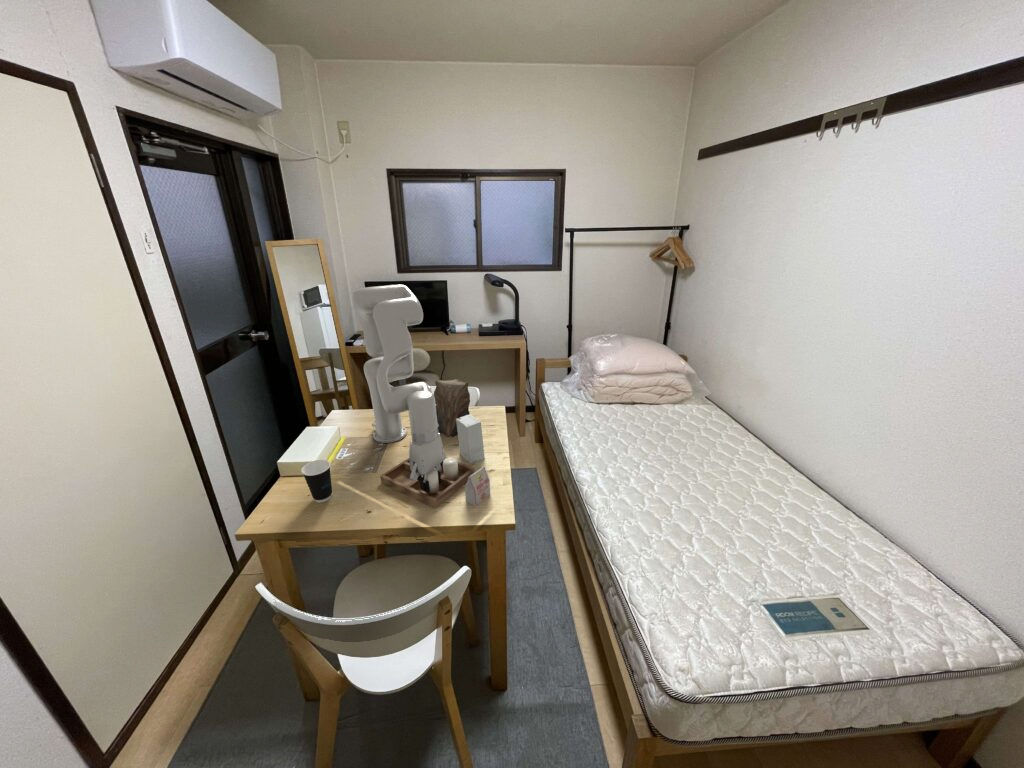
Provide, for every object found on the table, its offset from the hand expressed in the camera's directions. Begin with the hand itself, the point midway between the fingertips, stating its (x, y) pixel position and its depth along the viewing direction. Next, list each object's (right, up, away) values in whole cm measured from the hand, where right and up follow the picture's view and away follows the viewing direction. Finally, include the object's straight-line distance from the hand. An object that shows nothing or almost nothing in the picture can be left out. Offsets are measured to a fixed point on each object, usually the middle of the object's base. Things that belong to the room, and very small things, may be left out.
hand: (431, 486), depth 123 cm
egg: (0, -1, 0) cm, 1 cm away
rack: (-2, 0, +7) cm, 8 cm away
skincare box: (+10, +5, +20) cm, 23 cm away
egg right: (+5, +1, +8) cm, 9 cm away
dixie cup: (-33, -4, +1) cm, 33 cm away
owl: (0, +12, +38) cm, 40 cm away
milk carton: (+14, -4, -1) cm, 15 cm away
